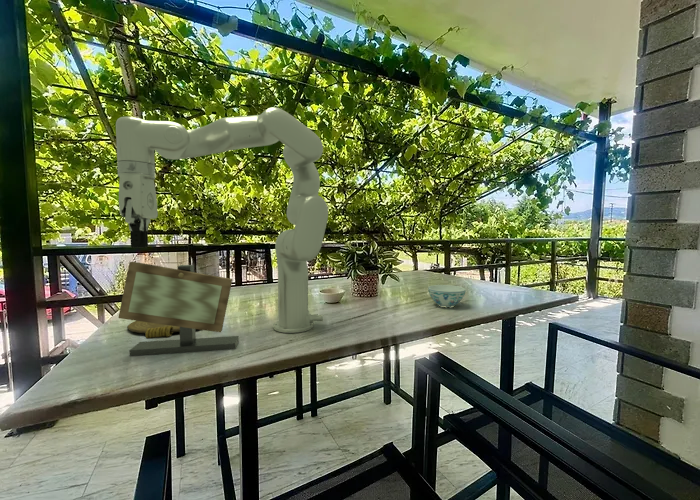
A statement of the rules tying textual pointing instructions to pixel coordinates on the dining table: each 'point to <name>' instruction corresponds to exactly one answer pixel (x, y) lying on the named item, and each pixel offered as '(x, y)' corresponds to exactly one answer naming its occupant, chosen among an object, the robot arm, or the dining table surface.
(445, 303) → the chinaware
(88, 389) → the dining table surface
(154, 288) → the picture frame
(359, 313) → the dining table surface
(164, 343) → the frame post
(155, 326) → the decorative disc
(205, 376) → the dining table surface
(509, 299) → the dining table surface
